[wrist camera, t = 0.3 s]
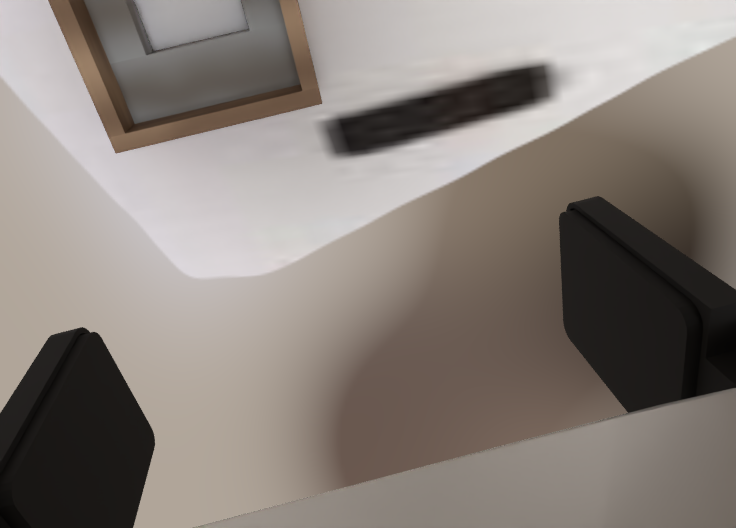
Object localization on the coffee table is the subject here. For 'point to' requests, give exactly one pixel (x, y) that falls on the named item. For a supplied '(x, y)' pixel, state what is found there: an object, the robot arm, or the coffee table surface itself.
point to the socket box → (187, 71)
